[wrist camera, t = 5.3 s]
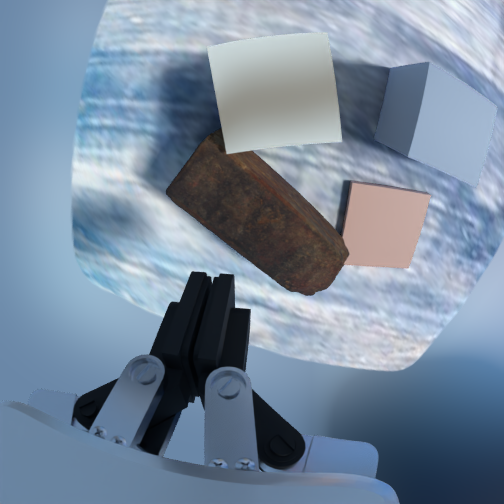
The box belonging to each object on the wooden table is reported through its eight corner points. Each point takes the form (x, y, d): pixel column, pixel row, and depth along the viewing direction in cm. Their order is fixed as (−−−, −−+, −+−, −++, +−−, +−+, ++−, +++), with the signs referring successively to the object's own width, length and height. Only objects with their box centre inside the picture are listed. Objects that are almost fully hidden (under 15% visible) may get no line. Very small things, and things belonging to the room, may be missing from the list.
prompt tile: (350, 180, 16) (352, 182, 16) (427, 192, 16) (430, 195, 16) (335, 260, 19) (336, 264, 19) (406, 264, 19) (408, 268, 19)
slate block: (389, 68, 12) (429, 61, 8) (450, 98, 12) (497, 106, 8) (373, 139, 15) (407, 156, 11) (434, 163, 15) (475, 188, 11)
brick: (185, 171, 17) (158, 196, 13) (224, 124, 15) (206, 134, 11) (301, 266, 20) (306, 311, 16) (342, 232, 19) (359, 272, 15)
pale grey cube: (226, 61, 13) (206, 46, 9) (311, 51, 12) (327, 32, 8) (240, 138, 16) (226, 154, 11) (322, 129, 15) (341, 141, 11)
